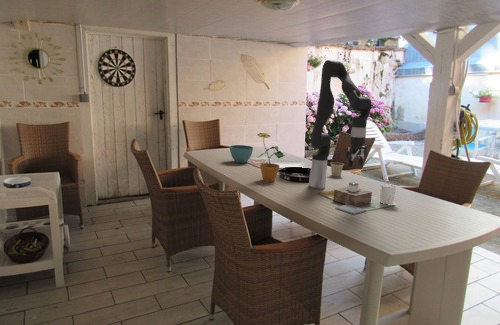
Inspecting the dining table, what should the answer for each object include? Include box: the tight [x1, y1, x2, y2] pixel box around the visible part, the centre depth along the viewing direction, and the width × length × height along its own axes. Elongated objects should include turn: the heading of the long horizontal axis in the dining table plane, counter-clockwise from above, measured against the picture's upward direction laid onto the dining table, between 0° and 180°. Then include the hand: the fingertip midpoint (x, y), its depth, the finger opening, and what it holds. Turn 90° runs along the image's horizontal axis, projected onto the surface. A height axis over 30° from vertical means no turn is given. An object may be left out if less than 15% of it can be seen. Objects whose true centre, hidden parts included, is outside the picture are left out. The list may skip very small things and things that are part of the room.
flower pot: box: [330, 161, 345, 177], centre depth 266 cm, size 9×9×9 cm
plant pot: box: [229, 144, 254, 164], centre depth 299 cm, size 18×18×12 cm
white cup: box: [379, 183, 397, 205], centre depth 204 cm, size 8×8×10 cm
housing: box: [332, 186, 373, 207], centre depth 205 cm, size 14×14×6 cm
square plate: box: [267, 159, 309, 172], centre depth 285 cm, size 27×27×4 cm
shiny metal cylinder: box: [348, 182, 359, 193], centre depth 204 cm, size 5×5×8 cm
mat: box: [335, 204, 367, 216], centre depth 190 cm, size 11×10×1 cm
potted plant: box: [256, 132, 286, 183], centre depth 242 cm, size 18×19×30 cm
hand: (355, 166), depth 202 cm, fingers open, 8 cm apart
